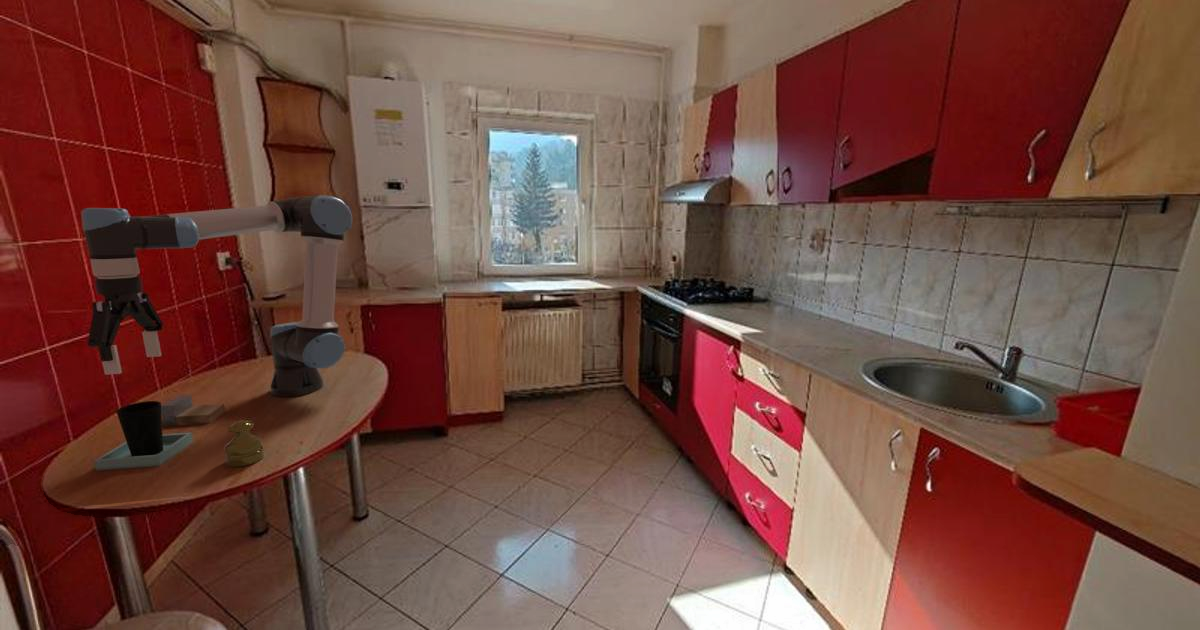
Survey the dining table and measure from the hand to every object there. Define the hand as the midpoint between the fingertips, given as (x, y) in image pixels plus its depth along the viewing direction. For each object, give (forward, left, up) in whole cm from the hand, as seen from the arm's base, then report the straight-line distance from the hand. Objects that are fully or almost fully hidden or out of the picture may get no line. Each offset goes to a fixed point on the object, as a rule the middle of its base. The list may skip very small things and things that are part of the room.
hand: (135, 364), depth 111 cm
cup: (0, +2, -22) cm, 22 cm away
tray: (0, +2, -23) cm, 23 cm away
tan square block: (0, -20, -23) cm, 31 cm away
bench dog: (+5, -20, -23) cm, 31 cm away
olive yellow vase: (-24, +9, -23) cm, 35 cm away
